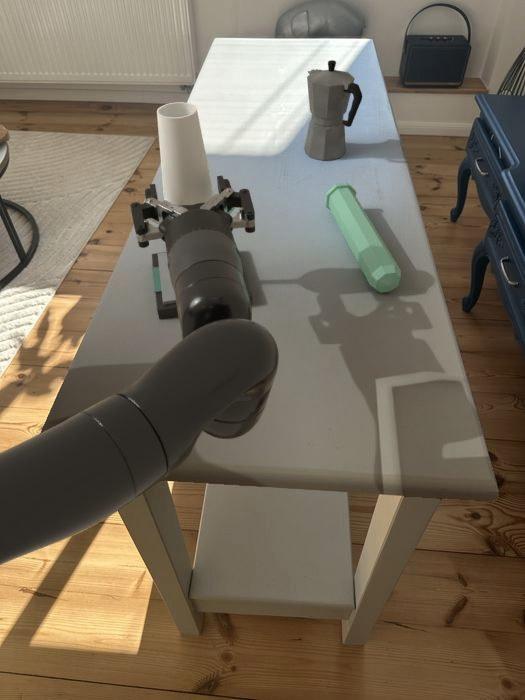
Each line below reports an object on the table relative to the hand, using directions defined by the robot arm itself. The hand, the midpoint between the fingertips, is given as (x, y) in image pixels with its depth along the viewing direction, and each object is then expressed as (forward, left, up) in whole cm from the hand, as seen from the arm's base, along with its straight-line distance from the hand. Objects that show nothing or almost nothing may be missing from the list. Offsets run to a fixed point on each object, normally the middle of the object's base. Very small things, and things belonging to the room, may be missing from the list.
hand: (187, 186), depth 62 cm
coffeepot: (+17, +49, -18) cm, 55 cm away
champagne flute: (-1, +2, -16) cm, 16 cm away
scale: (-1, +2, -18) cm, 18 cm away
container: (+24, +14, -18) cm, 33 cm away
